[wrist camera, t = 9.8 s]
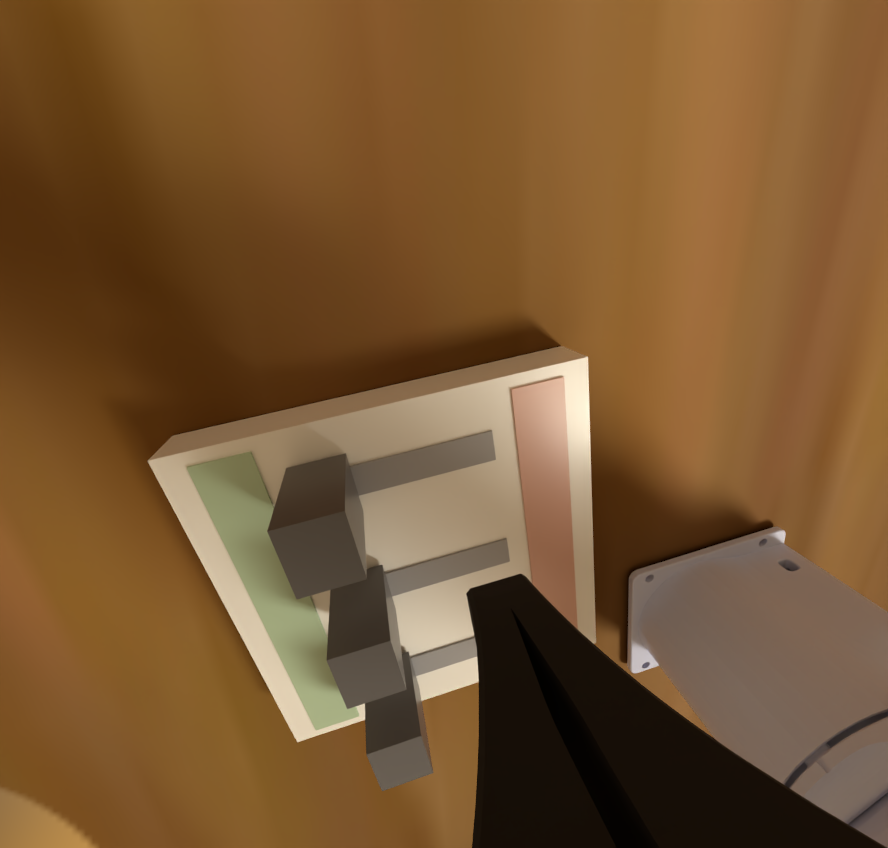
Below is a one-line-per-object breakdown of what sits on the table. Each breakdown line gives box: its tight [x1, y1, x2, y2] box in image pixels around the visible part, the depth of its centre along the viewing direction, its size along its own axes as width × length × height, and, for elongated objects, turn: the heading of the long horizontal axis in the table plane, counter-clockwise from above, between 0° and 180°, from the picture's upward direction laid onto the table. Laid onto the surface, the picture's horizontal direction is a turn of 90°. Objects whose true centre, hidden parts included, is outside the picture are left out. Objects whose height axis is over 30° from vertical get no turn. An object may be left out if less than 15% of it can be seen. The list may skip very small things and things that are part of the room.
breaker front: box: [267, 453, 367, 599], centre depth 13 cm, size 2×2×4 cm
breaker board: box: [148, 346, 596, 742], centre depth 18 cm, size 15×15×2 cm
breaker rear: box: [365, 652, 433, 791], centre depth 17 cm, size 2×2×4 cm
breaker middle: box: [326, 565, 406, 709], centre depth 15 cm, size 2×2×4 cm
